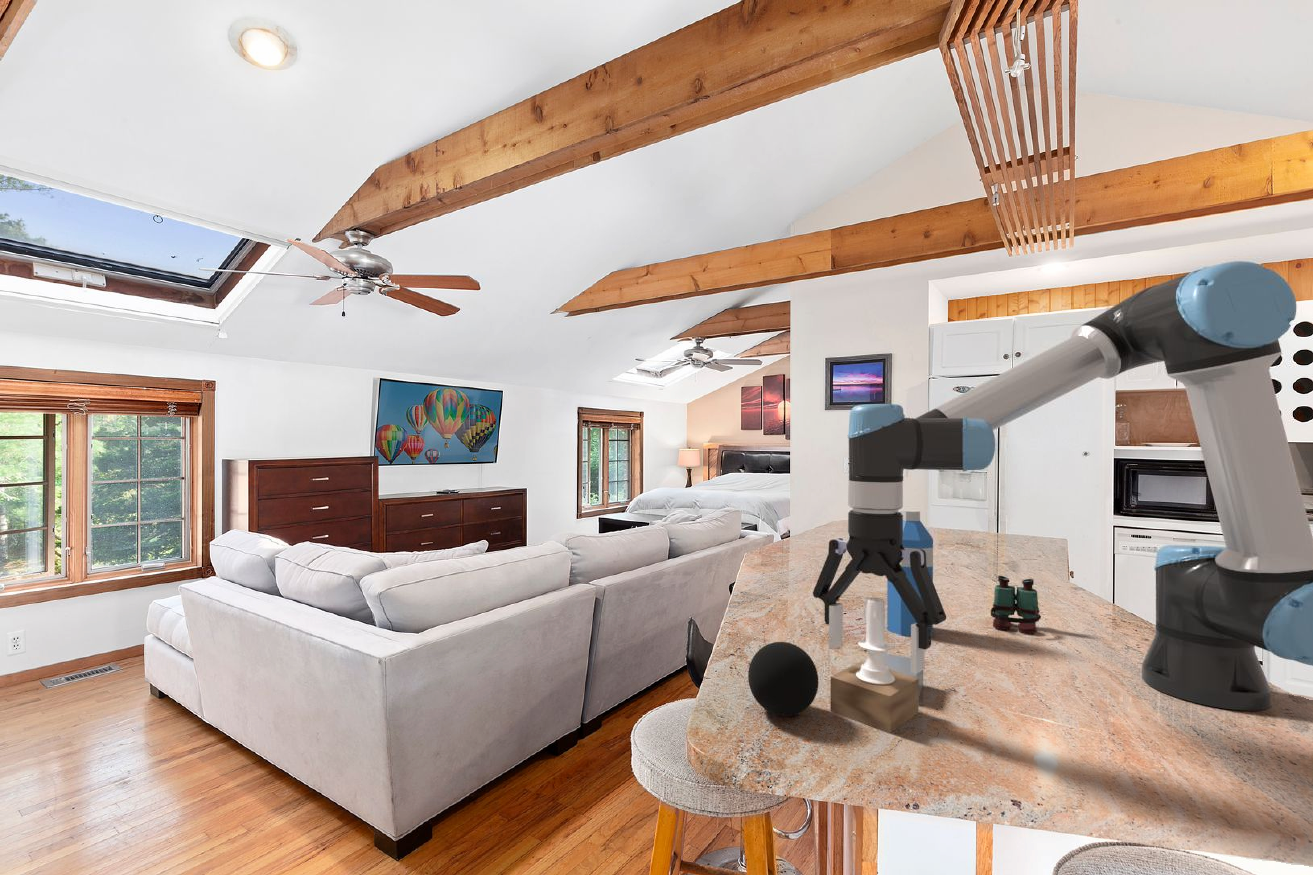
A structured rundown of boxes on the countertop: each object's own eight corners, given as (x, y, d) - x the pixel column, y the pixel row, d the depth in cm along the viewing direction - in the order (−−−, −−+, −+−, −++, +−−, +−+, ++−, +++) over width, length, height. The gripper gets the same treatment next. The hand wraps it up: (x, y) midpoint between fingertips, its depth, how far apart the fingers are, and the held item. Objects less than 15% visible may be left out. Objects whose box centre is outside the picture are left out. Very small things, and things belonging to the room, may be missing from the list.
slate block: (923, 684, 96) (923, 660, 97) (915, 703, 90) (915, 676, 90) (872, 674, 101) (872, 650, 101) (860, 691, 94) (860, 665, 94)
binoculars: (989, 585, 123) (992, 572, 131) (990, 635, 124) (992, 618, 132) (1041, 591, 118) (1040, 577, 126) (1041, 643, 119) (1040, 625, 127)
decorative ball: (833, 717, 85) (833, 647, 85) (781, 735, 80) (782, 661, 80) (783, 692, 94) (783, 628, 94) (734, 707, 88) (734, 639, 88)
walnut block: (918, 712, 87) (918, 678, 87) (890, 733, 81) (890, 696, 81) (860, 693, 93) (861, 661, 93) (830, 710, 87) (830, 676, 87)
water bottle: (940, 629, 125) (940, 510, 125) (924, 640, 118) (925, 514, 118) (895, 620, 131) (896, 506, 131) (878, 630, 124) (878, 510, 124)
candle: (853, 680, 86) (853, 597, 86) (859, 668, 90) (859, 589, 90) (892, 688, 83) (893, 602, 83) (896, 674, 88) (897, 593, 88)
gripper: (973, 515, 81) (972, 675, 81) (816, 501, 98) (816, 632, 98) (951, 520, 76) (950, 691, 76) (790, 504, 93) (789, 642, 93)
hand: (874, 658), depth 87 cm, fingers open, 12 cm apart
